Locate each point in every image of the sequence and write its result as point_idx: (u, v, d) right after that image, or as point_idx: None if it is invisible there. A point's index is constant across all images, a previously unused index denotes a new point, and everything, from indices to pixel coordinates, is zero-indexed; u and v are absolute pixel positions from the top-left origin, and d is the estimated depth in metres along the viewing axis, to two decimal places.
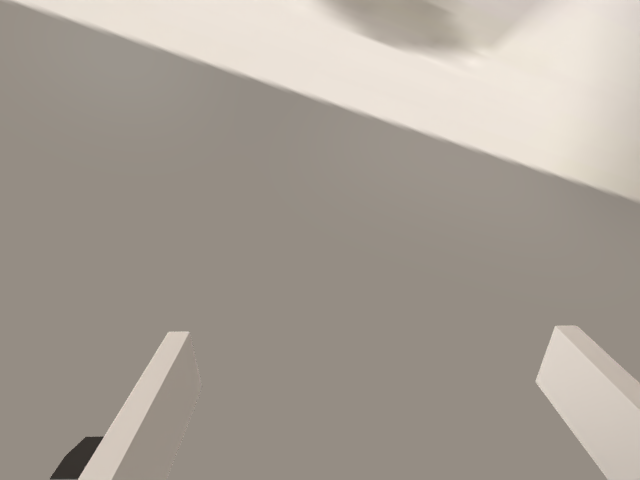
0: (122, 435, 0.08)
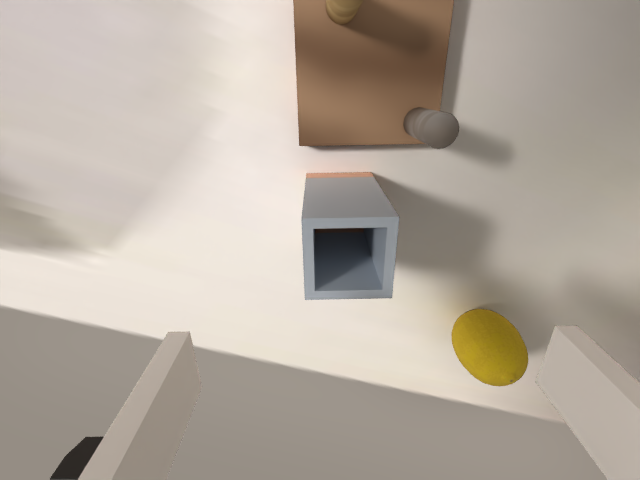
0: (122, 435, 0.08)
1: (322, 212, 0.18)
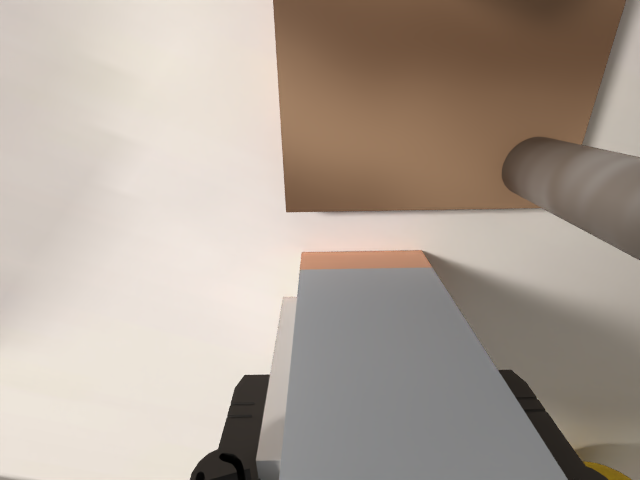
0: (285, 369, 0.10)
1: (341, 477, 0.06)
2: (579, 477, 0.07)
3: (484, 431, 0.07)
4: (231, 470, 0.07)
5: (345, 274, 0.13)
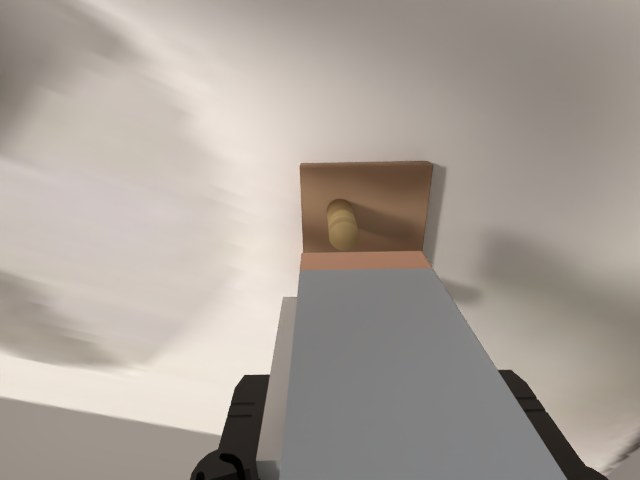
0: (285, 369, 0.10)
1: (341, 478, 0.06)
2: (579, 477, 0.07)
3: (484, 432, 0.07)
4: (231, 470, 0.07)
5: (345, 275, 0.13)
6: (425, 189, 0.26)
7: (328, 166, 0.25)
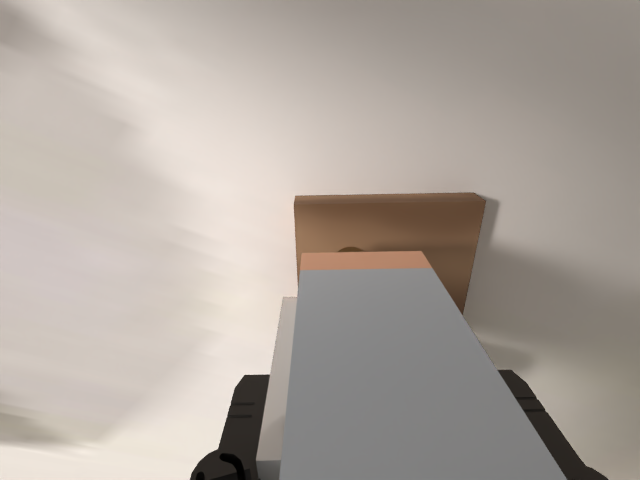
0: (285, 369, 0.10)
1: (341, 478, 0.06)
2: (579, 477, 0.07)
3: (484, 432, 0.07)
4: (231, 470, 0.07)
5: (345, 275, 0.13)
6: (472, 233, 0.18)
7: (335, 202, 0.17)
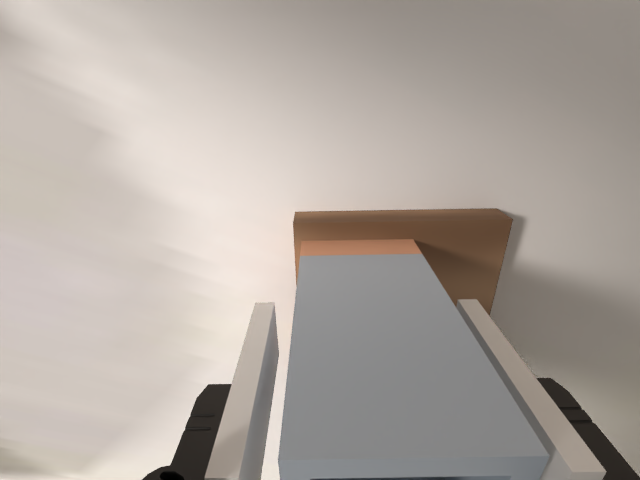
0: (248, 379, 0.10)
1: (334, 418, 0.07)
2: None
3: (459, 384, 0.08)
4: None
5: (341, 259, 0.14)
6: (496, 255, 0.16)
7: (340, 220, 0.15)
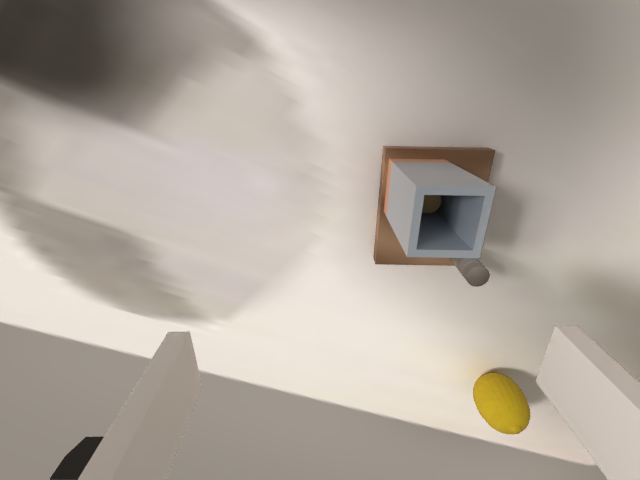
0: (122, 435, 0.08)
1: (429, 182, 0.22)
2: None
3: (469, 180, 0.23)
4: None
5: (412, 162, 0.29)
6: (486, 170, 0.31)
7: (408, 148, 0.31)
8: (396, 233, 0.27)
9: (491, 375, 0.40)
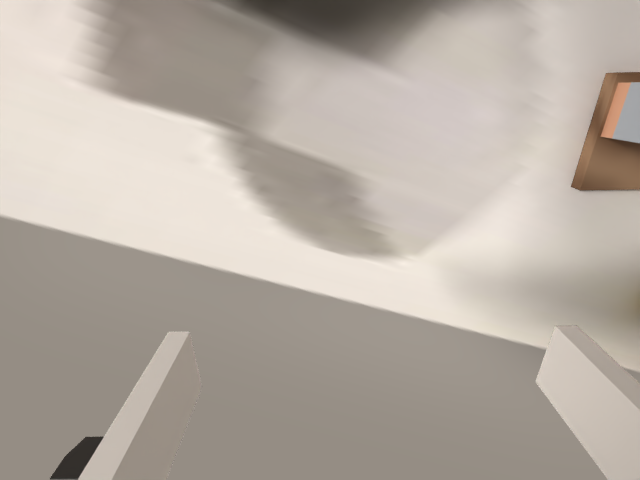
0: (122, 435, 0.08)
1: None
2: None
3: None
4: None
5: None
6: None
7: None
8: None
9: None
